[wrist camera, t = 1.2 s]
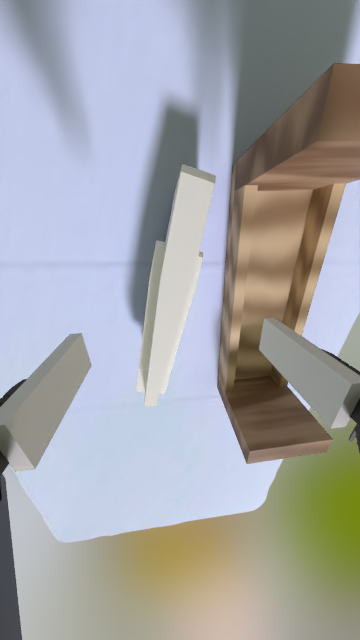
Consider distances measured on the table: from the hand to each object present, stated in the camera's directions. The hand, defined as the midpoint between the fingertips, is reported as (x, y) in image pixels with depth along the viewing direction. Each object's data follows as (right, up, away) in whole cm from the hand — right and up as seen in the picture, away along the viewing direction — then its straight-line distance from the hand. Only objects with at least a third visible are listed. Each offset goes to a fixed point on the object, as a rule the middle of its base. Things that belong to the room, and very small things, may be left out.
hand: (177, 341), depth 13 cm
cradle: (+13, +4, +17) cm, 22 cm away
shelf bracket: (-2, +6, +15) cm, 16 cm away
